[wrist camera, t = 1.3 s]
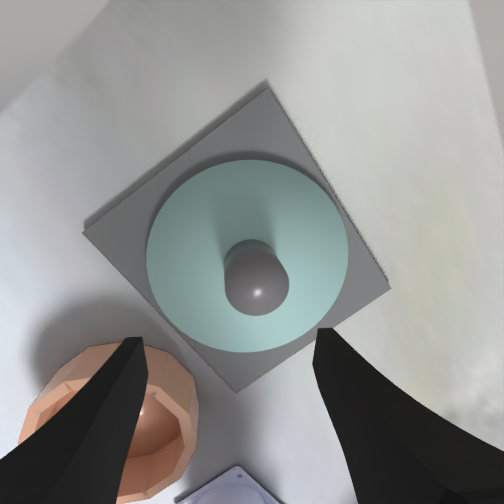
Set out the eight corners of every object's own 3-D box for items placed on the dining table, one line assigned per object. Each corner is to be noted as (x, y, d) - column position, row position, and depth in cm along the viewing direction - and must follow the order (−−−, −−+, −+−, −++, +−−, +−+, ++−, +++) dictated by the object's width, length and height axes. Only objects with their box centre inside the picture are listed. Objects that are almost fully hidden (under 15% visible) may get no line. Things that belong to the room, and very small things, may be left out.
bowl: (224, 408, 27) (225, 448, 23) (122, 476, 28) (107, 526, 24) (131, 315, 23) (114, 345, 19) (19, 398, 24) (-19, 441, 20)
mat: (388, 286, 25) (391, 288, 24) (235, 389, 26) (236, 393, 26) (267, 89, 20) (268, 87, 19) (84, 231, 21) (81, 232, 21)
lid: (377, 278, 24) (413, 303, 20) (230, 379, 25) (232, 424, 21) (275, 113, 20) (291, 98, 15) (103, 244, 21) (72, 266, 17)
